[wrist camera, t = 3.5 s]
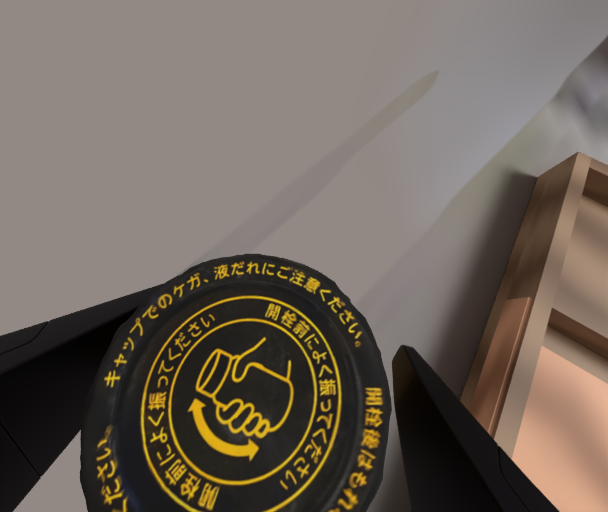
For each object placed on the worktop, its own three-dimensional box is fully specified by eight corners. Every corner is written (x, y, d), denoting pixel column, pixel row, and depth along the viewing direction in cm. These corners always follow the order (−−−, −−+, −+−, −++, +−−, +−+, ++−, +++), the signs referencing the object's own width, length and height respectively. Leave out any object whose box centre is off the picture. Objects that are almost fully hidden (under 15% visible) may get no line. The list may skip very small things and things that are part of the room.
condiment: (318, 286, 16) (376, 186, 5) (352, 421, 14) (615, 823, 3) (214, 309, 16) (2, 253, 4) (231, 457, 13) (-163, 1270, 2)
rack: (610, 1062, 8) (779, 1449, 5) (319, 785, 10) (330, 972, 7) (682, 247, 19) (752, 232, 16) (535, 175, 20) (575, 150, 17)
